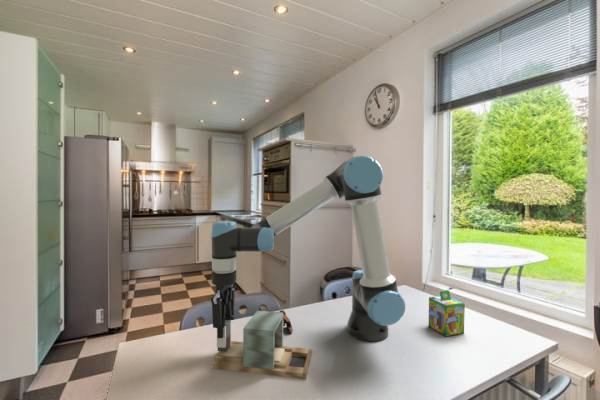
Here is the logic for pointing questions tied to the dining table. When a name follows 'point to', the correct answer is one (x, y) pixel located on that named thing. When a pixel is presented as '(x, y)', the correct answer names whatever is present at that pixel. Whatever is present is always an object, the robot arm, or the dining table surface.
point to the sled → (240, 347)
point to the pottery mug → (286, 321)
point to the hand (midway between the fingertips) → (224, 343)
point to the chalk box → (446, 314)
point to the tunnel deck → (266, 350)
